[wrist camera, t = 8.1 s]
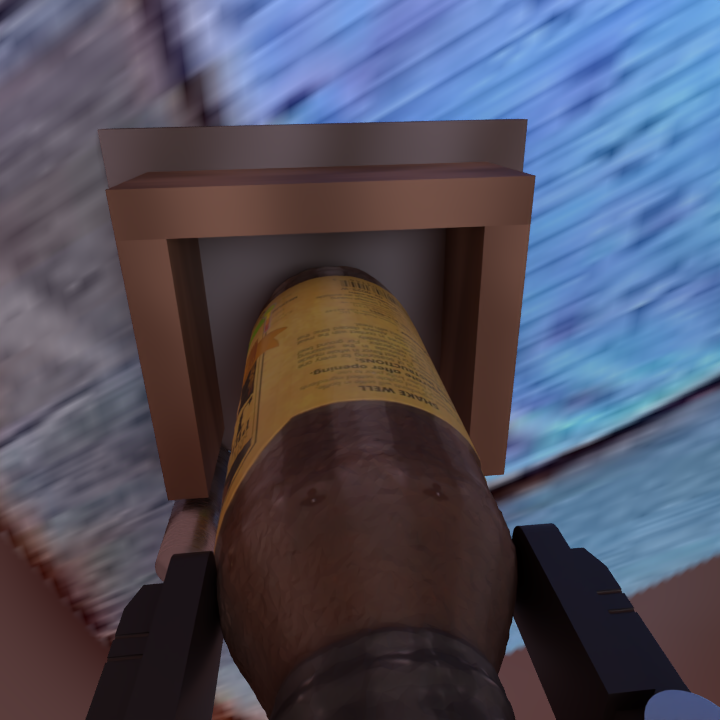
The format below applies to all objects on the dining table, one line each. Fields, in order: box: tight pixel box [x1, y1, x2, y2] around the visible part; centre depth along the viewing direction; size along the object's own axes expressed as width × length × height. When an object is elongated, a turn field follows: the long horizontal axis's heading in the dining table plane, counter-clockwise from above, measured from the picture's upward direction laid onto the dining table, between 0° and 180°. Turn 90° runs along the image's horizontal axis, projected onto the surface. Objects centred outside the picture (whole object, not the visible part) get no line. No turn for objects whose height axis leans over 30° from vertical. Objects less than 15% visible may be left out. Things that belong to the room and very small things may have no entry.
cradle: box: [98, 119, 535, 500], centre depth 22 cm, size 16×14×6 cm
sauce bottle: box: [214, 266, 518, 720], centre depth 14 cm, size 6×6×20 cm
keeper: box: [155, 446, 230, 582], centre depth 26 cm, size 19×2×6 cm, turn 41°
